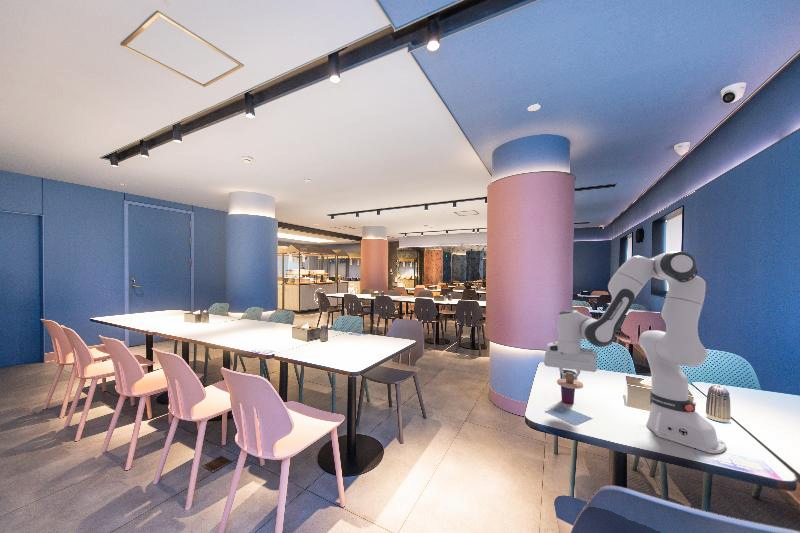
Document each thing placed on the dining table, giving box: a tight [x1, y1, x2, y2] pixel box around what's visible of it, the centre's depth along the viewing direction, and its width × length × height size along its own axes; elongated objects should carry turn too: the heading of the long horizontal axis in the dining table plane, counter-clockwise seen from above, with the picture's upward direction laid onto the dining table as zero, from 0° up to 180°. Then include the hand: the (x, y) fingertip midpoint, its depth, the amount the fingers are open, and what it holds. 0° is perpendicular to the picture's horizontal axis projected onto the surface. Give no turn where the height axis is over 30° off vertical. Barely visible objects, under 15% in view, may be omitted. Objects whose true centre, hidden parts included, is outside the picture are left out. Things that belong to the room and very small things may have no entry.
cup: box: [559, 369, 577, 405], centre depth 147 cm, size 7×7×15 cm
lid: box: [556, 372, 584, 390], centre depth 133 cm, size 10×10×5 cm
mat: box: [544, 405, 594, 427], centre depth 133 cm, size 14×13×1 cm
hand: (569, 378), depth 133 cm, fingers closed on lid, 3 cm apart
